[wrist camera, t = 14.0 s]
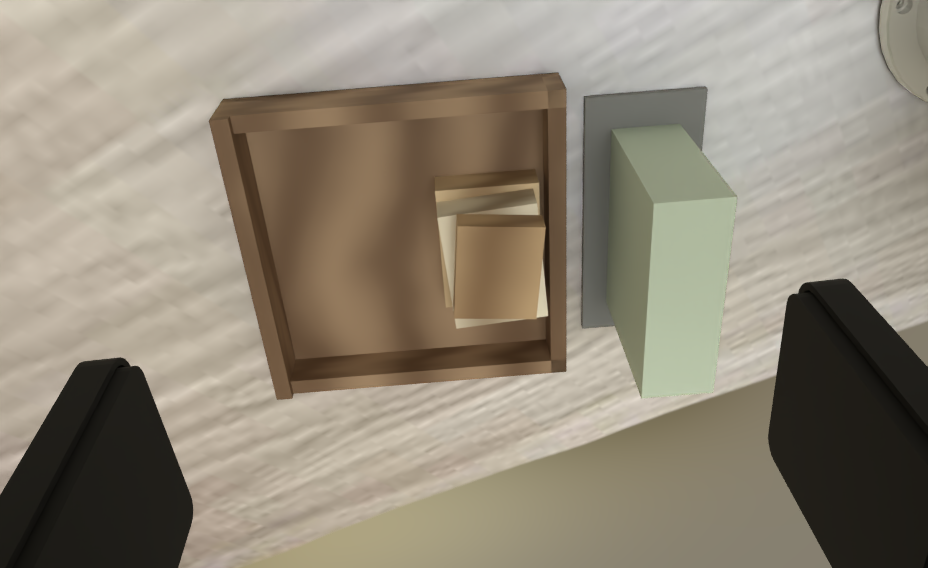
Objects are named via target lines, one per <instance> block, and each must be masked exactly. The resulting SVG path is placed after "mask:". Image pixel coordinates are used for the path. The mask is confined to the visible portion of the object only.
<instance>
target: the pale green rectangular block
mask: <svg viewBox="0 0 928 568" xmlns="http://www.w3.org/2000/svg"><path fill="white" fill-rule="evenodd" d="M736 204H737V196H736V194H735V193H734V192H733V191H732V189H731V188H730V187H729V186H728V184H727V183H726V182H725V181H724V179H723V178H722V177H721V175H720V174H719V173H718V172H717V170H716V169H715V168H714V167H713V165H712V164H711V163H710V161H709V160H708V159H707V158H706V156H705V155H704V154H703V153H702V151H701V150H700V149H699V147H698V146H697V145H696V144H695V142H694V141H693V140H692V139H691V137H690V136H689V135H688V134H687V132H686V131H685V130H684V128H683V127H682V126H681V125H680V124H670V125H657V126H645V127H632V128H620V129H612V132H611V164H610V196H609V228H608V261H607V293H606V302H607V305H608V308H609V310H610V313H611V316H612V319H613V321H614V324H615V327H616V330H617V332H618V335H619V338H620V341H621V343H622V346H623V349H624V352H625V354H626V357H627V360H628V363H629V365H630V368H631V371H632V374H633V376H634V379H635V382H636V385H637V387H638V390H639V393H640V396H641V398H653V397H666V396H678V395H690V394H703V393H713V390H714V382H715V374H716V366H717V358H718V350H719V342H720V334H721V325H722V317H723V309H724V301H725V293H726V285H727V277H728V269H729V261H730V252H731V244H732V236H733V228H734V220H735V212H736Z"/></svg>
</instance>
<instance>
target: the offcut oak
mask: <svg viewBox="0 0 928 568" xmlns="http://www.w3.org/2000/svg"><path fill="white" fill-rule="evenodd" d="M532 188H533V191H534V194H535V198H536V201H537V207H538V215H540V198H539V180H538V177H537V174H536V171H535V169H528V170H516V171H503V172H491V173H478V174H466V175H453V176H441V177H435V197H436V208H437V202H441V201H448V200H455V199H462V198H469V197H476V196H483V195H490V194H497V193H504V192H511V191H518V190H525V189H532ZM438 229H439V225H438ZM439 239H440V250H441V261H442V271H443V282H444V293H445V303H446V308H447V307H453V306H452V300H451V294H450V288H449V283H448V277H447V271H446V265H445V260H444V254H443V248H442V242H441V236H440V231H439Z"/></svg>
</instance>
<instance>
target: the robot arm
mask: <svg viewBox="0 0 928 568" xmlns="http://www.w3.org/2000/svg"><path fill="white" fill-rule="evenodd" d="M899 1H900V3H899V4H898V5H897V3H898V2H899ZM879 34H880V41H881V48H882V52H883V55H884V57H885V60H886V63H887V65H888V68H889V69H890V71H891V72H892V74H893V75H894V76H895V78H896V79H897V81H898V82H899V83H900V84H901V85H902V86H904V87H905V88H906V89H907V90H908V91H910V92H911V93H912V94H913V95H915V96H917V97H918V98H920V99H922V100H923V101H925V102H927V103H928V0H882V4H881V8H880V23H879ZM768 440H769V447H770V451H771V455H772V457H773V460H774V462H775V463H776V465H777V467H778V469H779V471H780V473H781V474H782V476H783V478H784V480H785V482H786V484H787V486H788V487H789V489H790V491H791V493H792V495H793V497H794V498H795V500H796V502H797V504H798V506H799V508H800V509H801V511H802V513H803V515H804V517H805V519H806V520H807V522H808V524H809V526H810V528H811V530H812V532H813V533H814V535H815V537H816V539H817V541H818V543H819V544H820V546H821V548H822V550H823V551H824V554H825V555H826V557H827V559H828V561H829V563H830V565H831V566H832V568H928V366H926V365H925V364H924V363H923V361H921V359H920V358H919V357H918V356H917V355H916V354H915V353H914V351H913V350H912V349H911V348H909V346H908V345H907V344H906V343H905V341H904V340H903V339H902V338H901V337H900V336H899V335H898V334H897V333H896V331H895V330H894V329H893V328H892V327H891V326H890V325H889V324H888V323H887V321H886V320H885V319H884V318H883V317H882V316H881V315H880V314H879V313H878V312H877V310H876V309H875V308H874V307H873V306H872V305H871V304H870V303H869V302H868V300H867V299H866V298H865V297H864V296H863V295H862V294H861V293H860V292H859V290H858V289H857V288H856V287H855V286H854V285H853V284H852V283H851V282H850V281H849V280H847V279H835V280H825V281H816V282H807V283H804V284H803V285H802V286H801V287H800V289H799V293H798V294H792V295H790V296H789V298H788V301H787V305H786V312H785V319H784V327H783V334H782V341H781V348H780V355H779V362H778V369H777V376H776V383H775V390H774V398H773V405H772V412H771V420H770V426H769V434H768ZM192 519H193V503H192V498H191V495H190V492H189V490H188V487H187V485H186V482H185V479H184V477H183V474H182V472H181V469H180V466H179V464H178V461H177V459H176V456H175V453H174V451H173V448H172V446H171V443H170V440H169V438H168V435H167V433H166V430H165V428H164V425H163V422H162V420H161V417H160V415H159V412H158V409H157V407H156V404H155V402H154V399H153V396H152V394H151V391H150V389H149V386H148V383H147V381H146V378H145V376H144V373H143V371H142V370H141V369H140V367H138V366H130V365H129V363H128V362H127V361H126V360H125V359H124V358H111V359H102V360H93V361H84V362H81V363H79V364H78V365H77V367H76V368H75V369H74V371H73V373H72V375H71V376H70V378H69V380H68V381H67V383H66V385H65V386H64V388H63V390H62V392H61V393H60V395H59V397H58V398H57V400H56V402H55V403H54V405H53V407H52V408H51V410H50V412H49V414H48V415H47V417H46V419H45V420H44V422H43V424H42V425H41V427H40V429H39V431H38V432H37V434H36V436H35V437H34V439H33V441H32V442H31V444H30V446H29V447H28V449H27V451H26V453H25V454H24V456H23V458H22V459H21V461H20V463H19V464H18V466H17V468H16V469H15V471H14V473H13V475H12V476H11V478H10V480H9V481H8V483H7V485H6V486H5V488H4V490H3V492H2V493H1V495H0V568H178V566H179V563H180V560H181V556H182V553H183V550H184V547H185V543H186V540H187V537H188V533H189V530H190V527H191V523H192Z"/></svg>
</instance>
